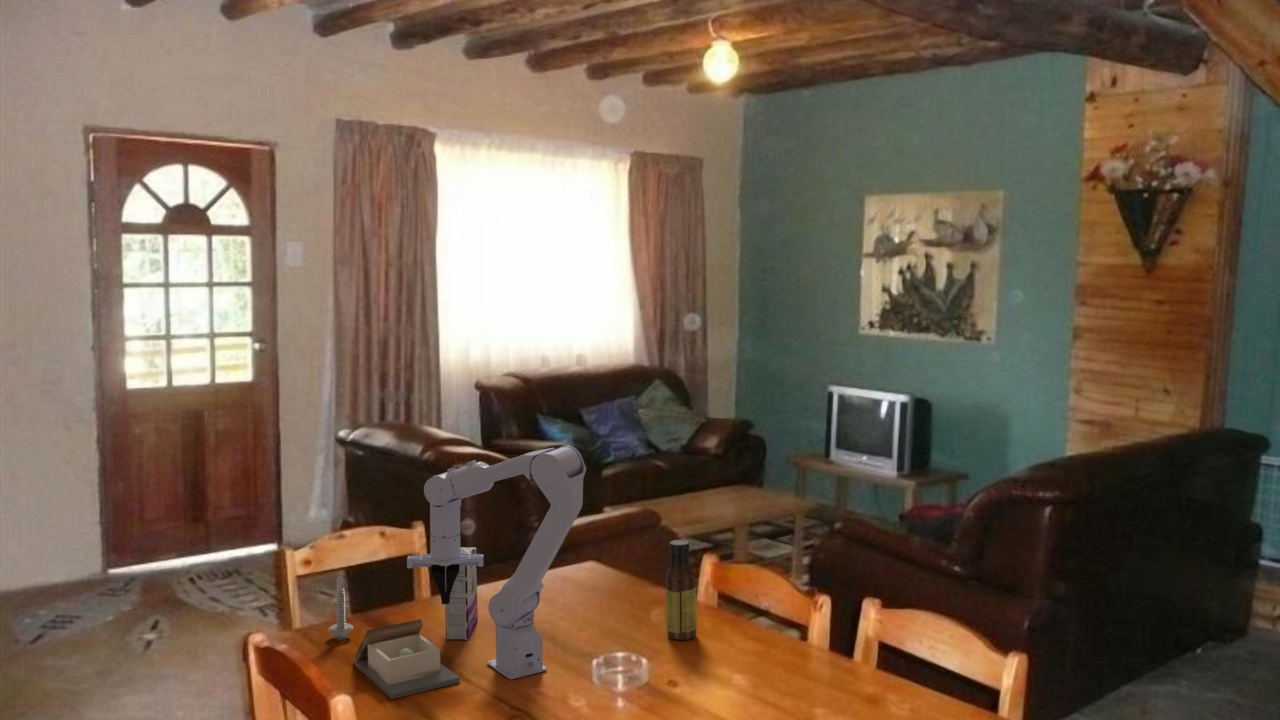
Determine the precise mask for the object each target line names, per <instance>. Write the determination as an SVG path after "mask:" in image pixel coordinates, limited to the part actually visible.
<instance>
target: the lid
mask: <svg viewBox="0 0 1280 720" xmlns="http://www.w3.org/2000/svg"><path fill="white" fill-rule="evenodd" d="M423 627H424V624H423V622H422V619H421V618H420V619H414V620H411V621H409V620H408V621H406V622H405V621H404V622H399V623H396V624H391V625H386V626H382V627H381V626H380V627H376V628H372V629H367V631H366V633H365V634H364V636H363V639H362V640H361V643H360V644H359V646H358V647H357V650H356V651H355V654H354V659H355V661H360V660H364V659H368V644H370V643H374V642H379V641H383V640H388V639H393V638H397V637H402V636H407V635H411V634H416V633H418V634H420V632H421V630H422V628H423Z"/></svg>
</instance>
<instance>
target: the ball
mask: <svg viewBox="0 0 1280 720" xmlns="http://www.w3.org/2000/svg"><path fill="white" fill-rule="evenodd" d="M410 654H413V652H412V651H411V650H410V649H408V648H404V649H401V650H400V651H399V652H398V654H397V657H401V656H405V655H410Z"/></svg>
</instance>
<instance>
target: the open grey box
mask: <svg viewBox="0 0 1280 720" xmlns="http://www.w3.org/2000/svg"><path fill="white" fill-rule="evenodd" d="M404 648H408V649H410V650H411V651H412V652H413V654H410V655H405V656H401V657H397V654H398V652H399V651H400V650H401V649H404ZM440 663H441V649H440V648H439V647H438V646H436V645H435V644H434V643H432V642H431V641H429V640H428V639H427V638H425V637H424V636H422V635H421V634H420V633H419V634H418V633H416V634H411V635H407V636H402V637H397V638H393V639H388V640H383V641H379V642H374V643H370V644H368V668H370V669H371V670H372V671H373V672H374V673H375V674H377V675H378V676H379V677H380V678H381V679H382V680H383V681H385V682H386V683H387V684H388V685H392V684H396V683H400V682H404V681H408V680H412V679H416V678H421V677H425V676H429V675H433V674H437V673H440Z"/></svg>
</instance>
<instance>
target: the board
mask: <svg viewBox="0 0 1280 720" xmlns="http://www.w3.org/2000/svg"><path fill="white" fill-rule="evenodd" d="M354 664H355V665H354V667H355V666H356V667H357V668H359V669H360V670H361V671H362V672H363V673H364V674H365V675H366V676H367V677H368V678H367V677H366V676H365V675H364V674H363V673H362V672H361V671H360V670H359V669H358V670H359V671H360V672H361V673H362V674H363V675H364V676H365V677H366V678H367V679H368V680H369V681H371V680H372V681H373V682H374V683H373V682H372V681H371V682H372V683H373V684H374V685H375V686H376V685H377V687H378V688H379V690H381V691H382V692H383V693H384V694H385V693H386V694H387V695H386V694H385V695H386V696H388V698H390V699H391V700H392V699H393V700H396V699H395V698H397V699H400V698H399V697H401V698H403V697H402V696H405V697H407V696H406V695H409V696H411V695H410V694H413V695H415V694H414V693H417V694H420V693H419V692H421V693H424V692H423V691H425V692H427V691H426V690H429V691H432V690H431V689H433V690H436V689H435V688H437V689H440V688H439V687H441V688H444V687H443V686H445V687H448V685H449V686H451V685H452V684H453V685H455V684H456V683H457V684H459V683H460V680H461V678H460V676H458V675H457V674H455V673H454V672H453V671H452V670H450V669H449V668H448V667H446V666H445V665H444V664H442V663H441V662H440V673H437V674H433V675H429V676H425V677H421V678H416V679H412V680H408V681H404V682H400V683H396V684H392V685H388V684H387V683H386V682H385V681H383V680H382V679H381V678H380V677H379V676H378V675H377V674H375V673H374V672H373V671H372V670H371V669H370V668H368V659H364V660H360V661H356V660H355V662H354ZM356 667H355V668H356ZM357 668H356V669H357Z"/></svg>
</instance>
